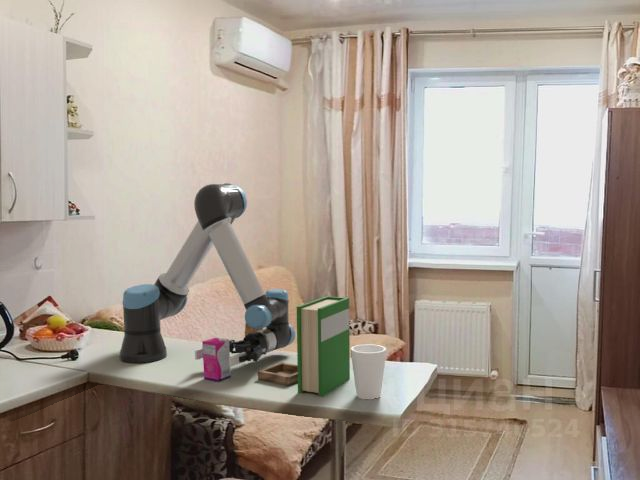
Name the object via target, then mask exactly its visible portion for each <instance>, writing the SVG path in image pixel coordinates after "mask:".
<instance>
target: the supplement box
mask: <svg viewBox="0 0 640 480" xmlns="http://www.w3.org/2000/svg"><path fill="white" fill-rule="evenodd" d="M229 341H230V339H228V338H222V337H213V338H210V339H206V340H202V342H201V343H202V348H203V358H202V361H203V362H202V363H203V364H202V365H203V379H205V380H209V381H213V382H217V383H218V382H221V381H223V380H227V379H229V378H231V377H232V374H231V366H229V357H230V355H231V352H230V351H229Z"/></svg>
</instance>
